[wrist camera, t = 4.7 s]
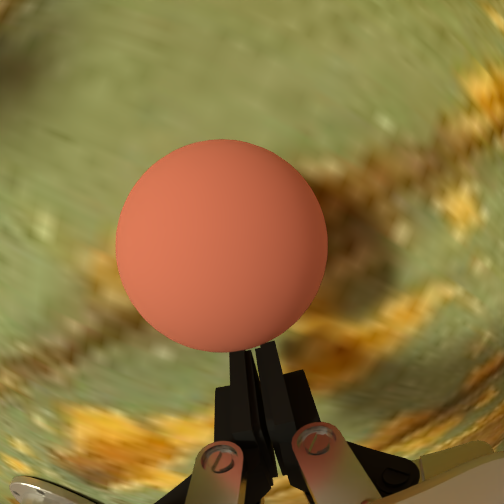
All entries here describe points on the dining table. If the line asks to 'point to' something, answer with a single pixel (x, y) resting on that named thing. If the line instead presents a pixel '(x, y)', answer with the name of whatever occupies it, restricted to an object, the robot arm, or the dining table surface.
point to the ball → (221, 245)
